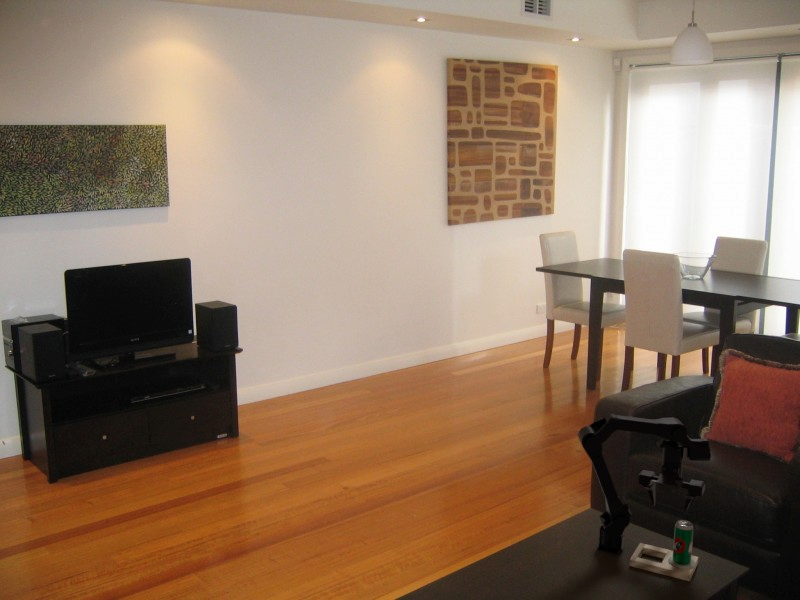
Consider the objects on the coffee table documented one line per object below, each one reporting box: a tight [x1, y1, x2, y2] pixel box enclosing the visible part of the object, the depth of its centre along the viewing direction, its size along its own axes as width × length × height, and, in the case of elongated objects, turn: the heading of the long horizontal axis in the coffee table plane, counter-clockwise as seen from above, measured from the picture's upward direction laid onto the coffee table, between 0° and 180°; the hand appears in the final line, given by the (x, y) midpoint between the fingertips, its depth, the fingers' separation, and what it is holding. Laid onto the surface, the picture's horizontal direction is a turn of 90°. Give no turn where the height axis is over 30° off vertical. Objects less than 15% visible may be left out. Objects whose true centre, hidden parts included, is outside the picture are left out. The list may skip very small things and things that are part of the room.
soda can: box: [672, 519, 694, 565], centre depth 234 cm, size 5×5×12 cm
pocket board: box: [629, 542, 699, 582], centre depth 237 cm, size 17×12×2 cm
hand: (669, 509), depth 244 cm, fingers open, 9 cm apart
